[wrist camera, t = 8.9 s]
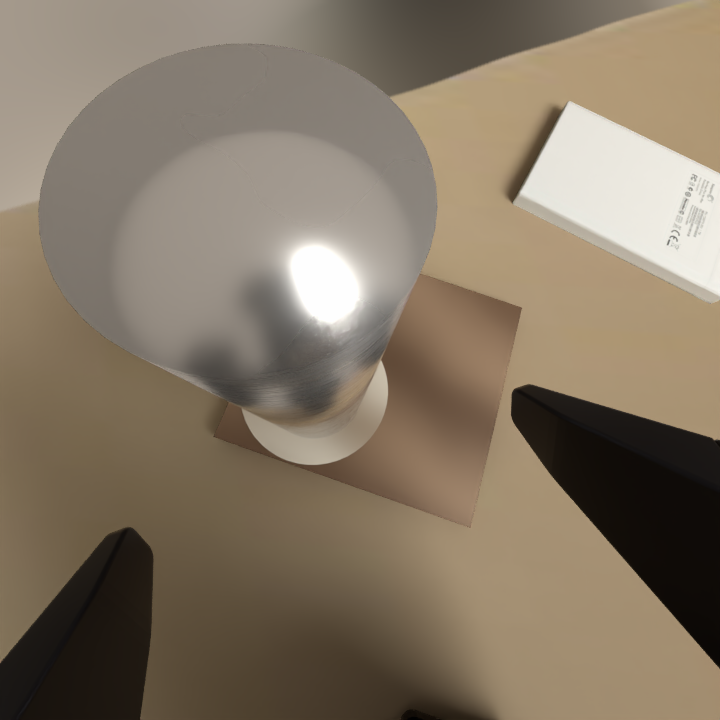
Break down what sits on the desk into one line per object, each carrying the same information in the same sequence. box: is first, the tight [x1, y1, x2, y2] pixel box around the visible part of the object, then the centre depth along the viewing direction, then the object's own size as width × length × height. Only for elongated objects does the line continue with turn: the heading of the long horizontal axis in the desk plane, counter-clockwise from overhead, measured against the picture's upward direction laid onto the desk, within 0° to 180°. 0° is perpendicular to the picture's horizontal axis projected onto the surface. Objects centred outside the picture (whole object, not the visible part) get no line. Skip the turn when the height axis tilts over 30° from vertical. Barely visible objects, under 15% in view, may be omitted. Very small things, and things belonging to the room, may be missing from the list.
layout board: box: [214, 274, 522, 528], centre depth 18 cm, size 11×12×1 cm
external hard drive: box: [512, 101, 720, 304], centre depth 22 cm, size 2×8×12 cm
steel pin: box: [38, 44, 437, 438], centre depth 10 cm, size 4×4×13 cm
